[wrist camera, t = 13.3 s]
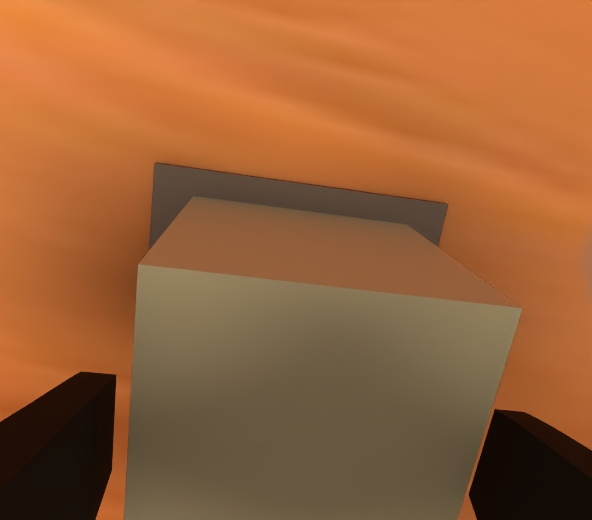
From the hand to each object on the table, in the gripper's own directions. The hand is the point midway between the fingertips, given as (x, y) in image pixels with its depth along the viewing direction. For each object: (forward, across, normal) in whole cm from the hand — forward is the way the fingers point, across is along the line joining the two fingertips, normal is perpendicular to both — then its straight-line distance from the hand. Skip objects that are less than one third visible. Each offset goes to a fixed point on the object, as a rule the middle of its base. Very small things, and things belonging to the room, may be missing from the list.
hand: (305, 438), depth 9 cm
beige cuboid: (+5, 0, 0) cm, 5 cm away
